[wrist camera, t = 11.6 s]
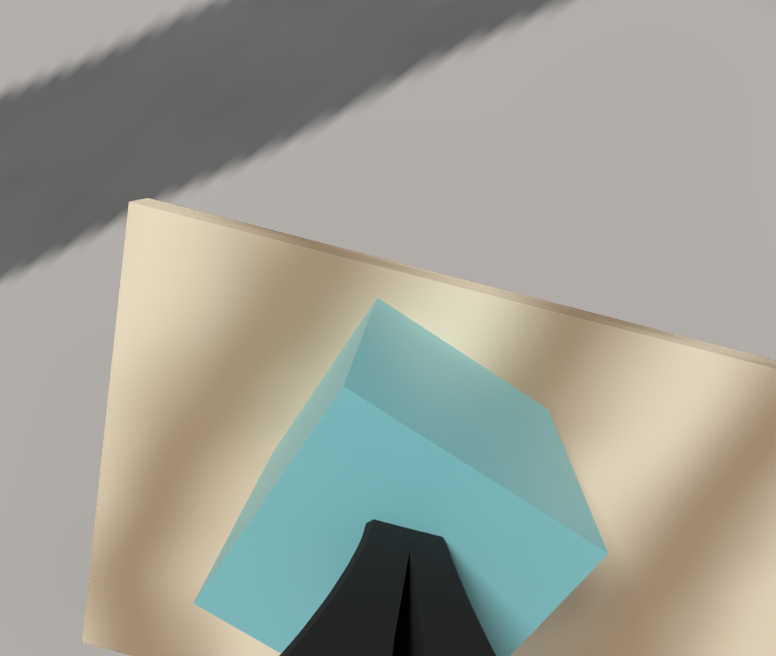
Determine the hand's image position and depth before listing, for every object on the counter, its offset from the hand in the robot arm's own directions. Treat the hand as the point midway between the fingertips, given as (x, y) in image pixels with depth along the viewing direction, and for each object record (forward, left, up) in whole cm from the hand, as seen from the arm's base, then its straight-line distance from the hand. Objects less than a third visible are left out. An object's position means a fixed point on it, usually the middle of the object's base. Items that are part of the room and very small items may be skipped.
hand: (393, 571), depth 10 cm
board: (-2, +3, -6) cm, 7 cm away
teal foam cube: (0, 0, -6) cm, 6 cm away
